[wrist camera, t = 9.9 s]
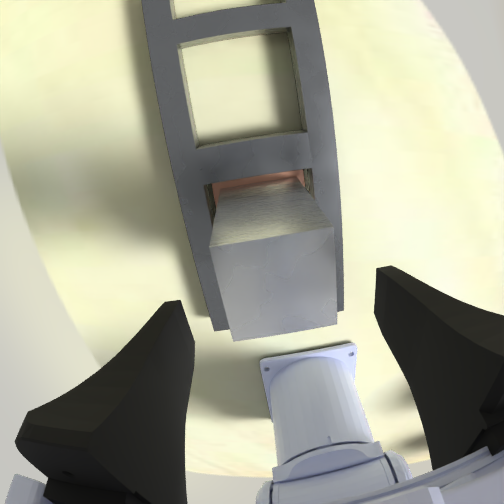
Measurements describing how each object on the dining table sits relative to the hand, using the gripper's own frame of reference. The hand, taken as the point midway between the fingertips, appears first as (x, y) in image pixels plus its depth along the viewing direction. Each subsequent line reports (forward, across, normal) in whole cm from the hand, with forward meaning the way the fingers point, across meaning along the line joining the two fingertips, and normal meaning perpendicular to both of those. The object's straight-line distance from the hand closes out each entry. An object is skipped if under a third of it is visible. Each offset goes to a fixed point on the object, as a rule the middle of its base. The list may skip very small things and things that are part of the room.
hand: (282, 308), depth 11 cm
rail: (+9, 0, -4) cm, 10 cm away
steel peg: (+9, 0, 0) cm, 9 cm away
